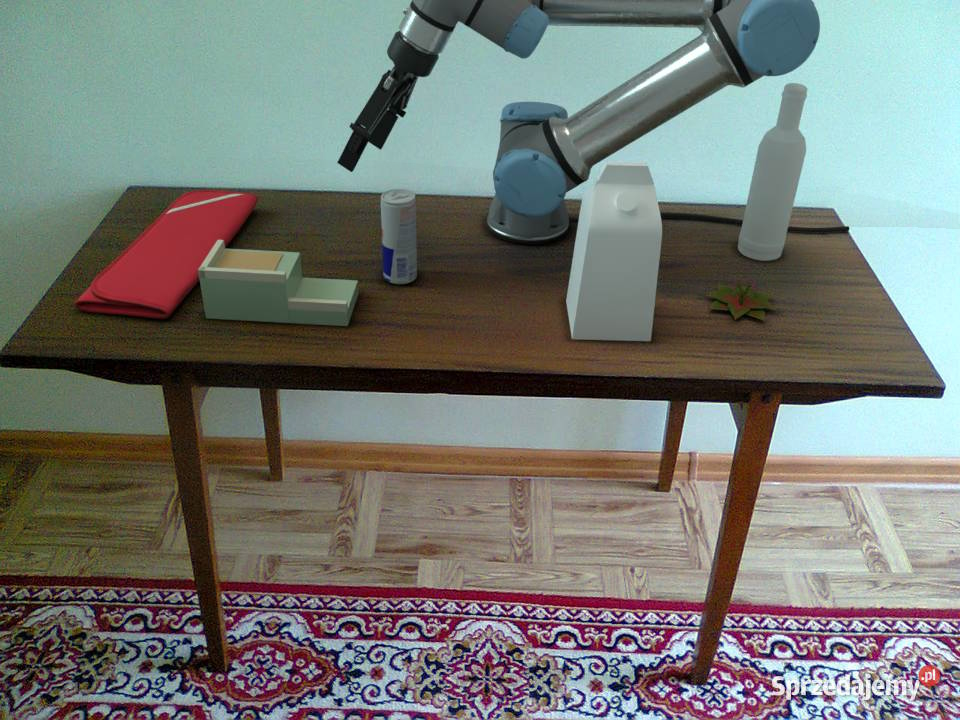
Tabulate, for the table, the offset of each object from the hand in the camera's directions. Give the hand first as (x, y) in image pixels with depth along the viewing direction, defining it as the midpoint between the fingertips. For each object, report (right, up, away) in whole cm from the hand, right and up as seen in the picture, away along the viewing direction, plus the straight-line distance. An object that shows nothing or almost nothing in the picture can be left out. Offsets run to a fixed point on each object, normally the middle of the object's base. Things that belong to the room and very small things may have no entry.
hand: (360, 155), depth 151 cm
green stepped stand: (-11, -25, -7) cm, 28 cm away
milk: (+40, -28, -7) cm, 49 cm away
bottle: (+70, -14, +14) cm, 73 cm away
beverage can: (+6, -20, +2) cm, 21 cm away
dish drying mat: (-32, -16, +6) cm, 36 cm away
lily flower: (+62, -25, -2) cm, 67 cm away
